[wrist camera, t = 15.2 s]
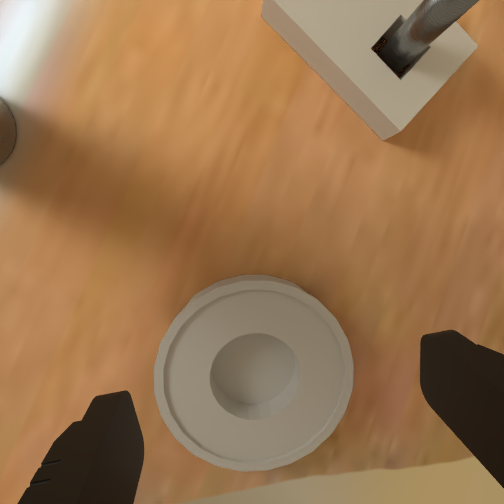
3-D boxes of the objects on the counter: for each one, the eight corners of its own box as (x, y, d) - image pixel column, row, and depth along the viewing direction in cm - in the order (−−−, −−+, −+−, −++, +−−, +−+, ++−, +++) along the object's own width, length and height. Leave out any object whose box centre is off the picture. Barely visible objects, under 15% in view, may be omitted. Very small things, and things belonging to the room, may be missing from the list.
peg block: (260, 16, 35) (264, -10, 31) (332, -67, 35) (345, -104, 31) (383, 140, 38) (400, 131, 34) (452, 64, 37) (478, 46, 33)
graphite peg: (364, 67, 37) (444, -25, 23) (383, 46, 37) (475, -59, 23) (383, 87, 37) (473, 8, 23) (401, 66, 37) (503, -25, 23)
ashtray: (148, 286, 38) (138, 294, 34) (334, 262, 39) (345, 267, 35) (175, 459, 41) (169, 485, 37) (349, 433, 42) (361, 455, 38)
